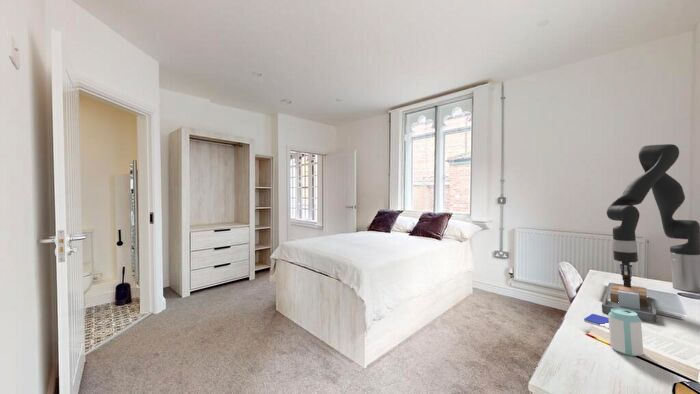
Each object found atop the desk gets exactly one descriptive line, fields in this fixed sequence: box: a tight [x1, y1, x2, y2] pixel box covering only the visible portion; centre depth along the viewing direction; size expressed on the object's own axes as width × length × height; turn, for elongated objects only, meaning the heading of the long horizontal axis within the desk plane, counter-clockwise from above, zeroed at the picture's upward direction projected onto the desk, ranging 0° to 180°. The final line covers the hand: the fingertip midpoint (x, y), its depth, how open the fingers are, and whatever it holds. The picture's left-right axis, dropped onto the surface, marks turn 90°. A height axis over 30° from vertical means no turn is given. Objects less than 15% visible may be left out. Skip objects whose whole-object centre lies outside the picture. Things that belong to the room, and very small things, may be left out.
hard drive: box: [583, 313, 609, 326], centre depth 99 cm, size 2×8×12 cm
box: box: [601, 294, 658, 324], centre depth 109 cm, size 16×15×3 cm
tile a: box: [619, 286, 640, 298], centre depth 115 cm, size 6×6×2 cm
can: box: [607, 308, 644, 357], centre depth 82 cm, size 7×7×12 cm
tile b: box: [618, 290, 640, 310], centre depth 111 cm, size 6×6×2 cm
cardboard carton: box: [609, 282, 649, 308], centre depth 121 cm, size 18×11×4 cm, turn 133°
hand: (627, 289), depth 119 cm, fingers closed
